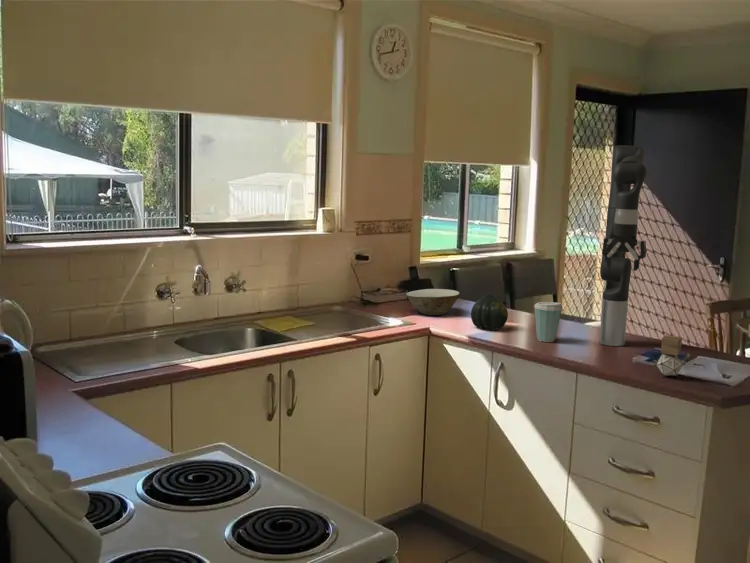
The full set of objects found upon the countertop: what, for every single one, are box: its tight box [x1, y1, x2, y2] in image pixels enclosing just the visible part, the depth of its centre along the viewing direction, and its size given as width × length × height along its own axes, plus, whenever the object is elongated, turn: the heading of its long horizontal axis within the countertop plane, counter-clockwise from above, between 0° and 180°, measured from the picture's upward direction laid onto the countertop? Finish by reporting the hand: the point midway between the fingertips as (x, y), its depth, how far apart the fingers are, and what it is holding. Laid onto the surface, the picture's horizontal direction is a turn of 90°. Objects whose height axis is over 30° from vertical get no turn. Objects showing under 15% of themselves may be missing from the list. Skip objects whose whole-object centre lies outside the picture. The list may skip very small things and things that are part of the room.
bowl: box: [405, 288, 460, 316], centre depth 331 cm, size 24×24×10 cm
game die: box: [653, 352, 686, 378], centre depth 240 cm, size 9×8×10 cm
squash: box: [470, 292, 509, 331], centre depth 304 cm, size 14×15×15 cm
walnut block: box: [660, 334, 683, 356], centre depth 239 cm, size 5×5×5 cm
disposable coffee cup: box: [533, 301, 564, 343], centre depth 285 cm, size 11×11×15 cm
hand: (622, 269), depth 255 cm, fingers open, 8 cm apart
